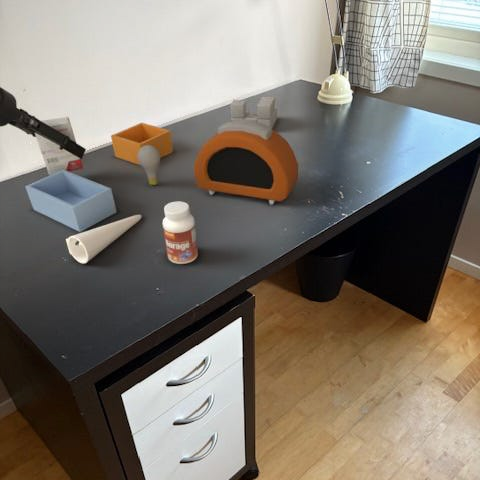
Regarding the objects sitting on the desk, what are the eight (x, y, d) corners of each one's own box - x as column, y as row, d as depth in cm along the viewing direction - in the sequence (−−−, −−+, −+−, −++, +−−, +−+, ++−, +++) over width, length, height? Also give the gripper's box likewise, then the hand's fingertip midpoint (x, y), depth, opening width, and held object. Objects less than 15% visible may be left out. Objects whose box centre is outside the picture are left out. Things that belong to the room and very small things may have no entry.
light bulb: (143, 181, 122) (136, 142, 116) (164, 179, 123) (158, 140, 116) (142, 190, 118) (134, 151, 112) (164, 189, 119) (158, 149, 112)
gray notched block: (277, 119, 152) (277, 92, 146) (270, 133, 143) (270, 105, 138) (240, 117, 154) (239, 91, 149) (231, 131, 145) (230, 103, 140)
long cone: (160, 232, 106) (90, 267, 94) (140, 227, 110) (71, 259, 97) (156, 208, 103) (83, 240, 91) (136, 203, 107) (63, 233, 94)
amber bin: (115, 156, 134) (110, 135, 130) (145, 143, 141) (141, 122, 137) (143, 166, 129) (139, 144, 125) (173, 151, 135) (170, 130, 131)
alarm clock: (195, 193, 116) (187, 124, 105) (210, 178, 122) (204, 110, 111) (287, 208, 109) (289, 135, 98) (298, 190, 115) (301, 120, 104)
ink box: (81, 161, 124) (69, 115, 116) (83, 169, 121) (71, 122, 113) (47, 167, 122) (32, 121, 114) (48, 176, 119) (33, 128, 111)
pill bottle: (163, 264, 94) (155, 214, 87) (172, 246, 99) (164, 198, 91) (194, 266, 94) (188, 216, 86) (201, 248, 98) (196, 200, 91)
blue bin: (33, 209, 113) (25, 186, 109) (70, 192, 119) (63, 169, 115) (80, 232, 105) (72, 207, 101) (116, 212, 111) (111, 188, 107)
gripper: (-42, 108, 106) (41, 153, 126) (11, 128, 96) (92, 173, 116) (-30, 77, 105) (52, 127, 125) (25, 93, 96) (104, 145, 116)
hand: (71, 149), depth 121 cm, fingers closed on ink box, 8 cm apart
